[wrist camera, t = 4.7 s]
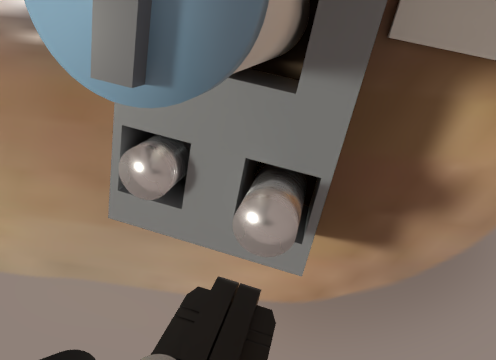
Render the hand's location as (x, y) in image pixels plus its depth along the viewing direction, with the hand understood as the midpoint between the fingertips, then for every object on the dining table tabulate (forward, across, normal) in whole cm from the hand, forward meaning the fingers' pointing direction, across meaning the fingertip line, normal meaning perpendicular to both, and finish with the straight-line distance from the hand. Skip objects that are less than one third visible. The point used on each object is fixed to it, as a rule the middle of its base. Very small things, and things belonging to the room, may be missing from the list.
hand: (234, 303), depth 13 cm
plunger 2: (+11, 0, 0) cm, 11 cm away
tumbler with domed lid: (+13, +4, -9) cm, 16 cm away
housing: (+13, +4, -5) cm, 15 cm away
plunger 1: (+13, +7, 0) cm, 14 cm away
